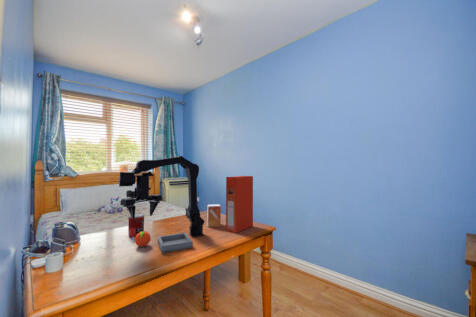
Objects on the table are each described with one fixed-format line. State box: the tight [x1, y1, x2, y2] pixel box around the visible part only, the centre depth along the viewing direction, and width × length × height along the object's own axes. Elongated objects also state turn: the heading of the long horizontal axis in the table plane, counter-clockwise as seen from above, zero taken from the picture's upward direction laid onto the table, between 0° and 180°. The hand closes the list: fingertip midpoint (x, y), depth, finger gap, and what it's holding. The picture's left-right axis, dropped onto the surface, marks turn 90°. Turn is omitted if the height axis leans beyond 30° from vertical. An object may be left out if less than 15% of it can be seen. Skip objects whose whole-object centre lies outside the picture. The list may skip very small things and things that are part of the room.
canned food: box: [127, 212, 145, 238], centre depth 117 cm, size 8×8×11 cm
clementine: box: [134, 230, 152, 248], centre depth 102 cm, size 8×7×7 cm
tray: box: [156, 232, 194, 254], centre depth 104 cm, size 14×14×3 cm
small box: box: [206, 203, 222, 228], centre depth 137 cm, size 8×6×13 cm
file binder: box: [225, 175, 254, 234], centre depth 131 cm, size 8×17×32 cm, turn 143°
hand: (142, 217), depth 104 cm, fingers open, 9 cm apart
